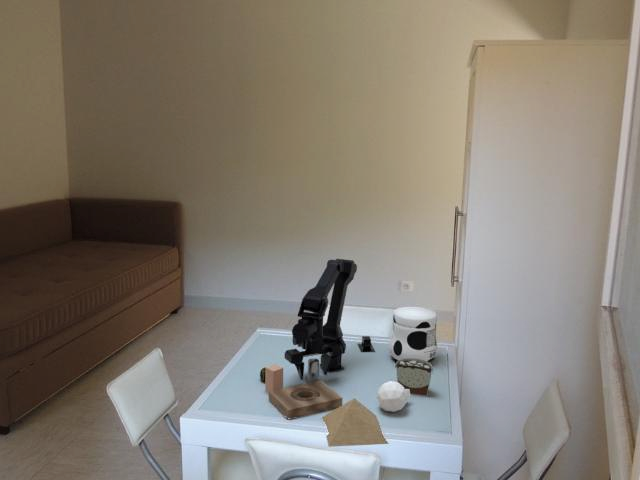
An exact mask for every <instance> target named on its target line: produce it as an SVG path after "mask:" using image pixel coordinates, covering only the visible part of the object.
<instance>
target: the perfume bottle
mask: <svg viewBox="0 0 640 480" xmlns="http://www.w3.org/2000/svg"><path fill="white" fill-rule="evenodd" d="M408 398H411V394H410V389H405V388H404V387H403V386H402V385H401V384H400V383H398V382H397V381H393V380H392V381H391V380H389V381H386V382H384V383H383V384H382V385H381V386H380V387H379V388H378V390H377V395H376V399H377V402H378V404H379V406H380V407H381V408H382V409H383V410H384V411H385V412H391V413H392V412H393V413H396V412H398V411H400V410H402V409H403V408H404V407H405V406H406V404H407V402H408Z"/></svg>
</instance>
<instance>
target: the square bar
mask: <svg viewBox="0 0 640 480" xmlns="http://www.w3.org/2000/svg"><path fill="white" fill-rule="evenodd" d="M264 368H265V381H264V382H265V384H264V385H265V389H264V390H265V392H266V393H268V394H269V391H271V390H276V389H281V388H284V367H282V366H280V365H277V364H272V365H269V366H266V367H265V366H264Z"/></svg>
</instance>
